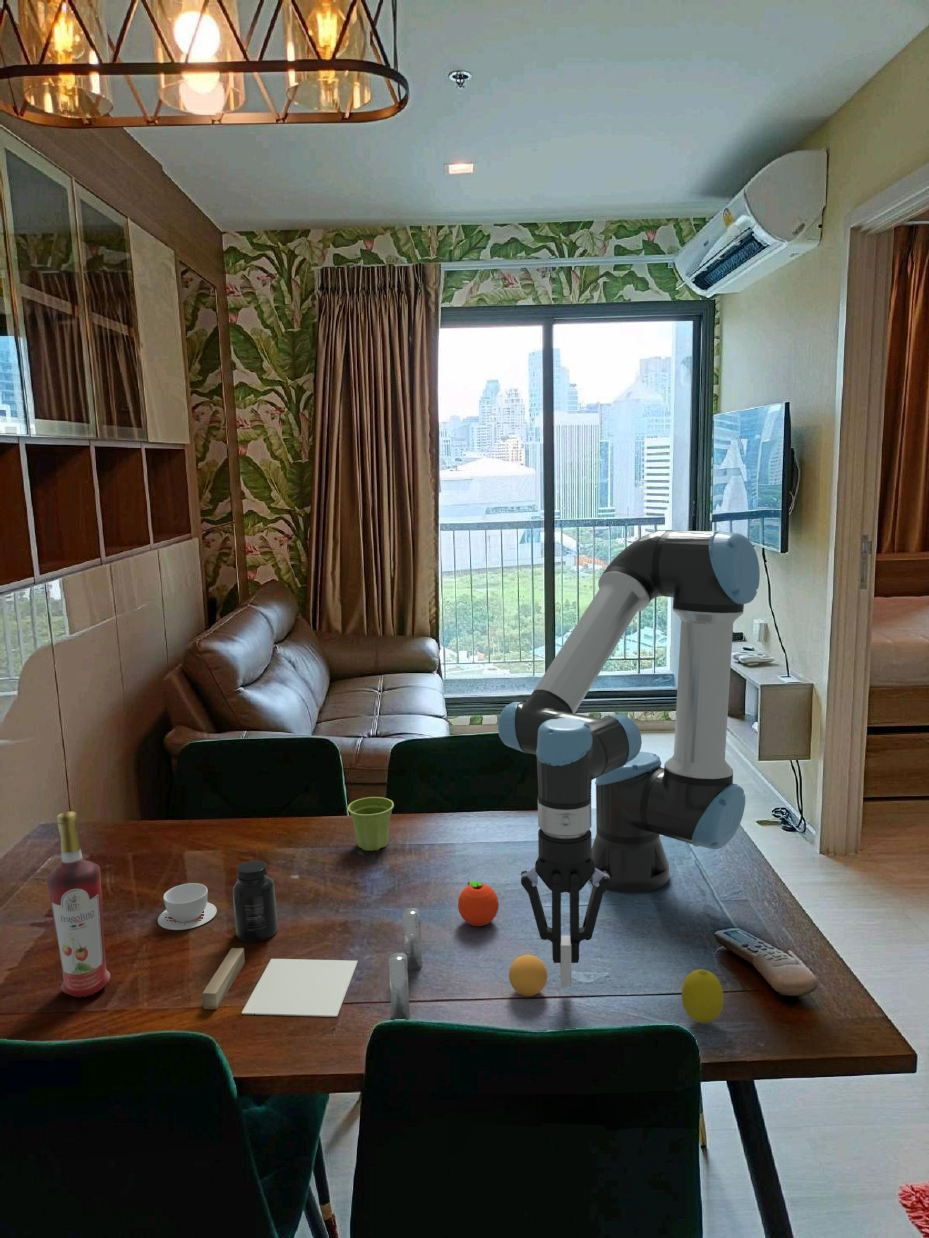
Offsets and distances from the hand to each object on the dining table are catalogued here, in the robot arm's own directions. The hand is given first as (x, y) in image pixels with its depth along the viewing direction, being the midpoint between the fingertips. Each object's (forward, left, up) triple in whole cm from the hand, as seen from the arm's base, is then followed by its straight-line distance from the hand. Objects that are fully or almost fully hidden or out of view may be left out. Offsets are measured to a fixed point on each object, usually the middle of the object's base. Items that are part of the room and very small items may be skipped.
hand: (565, 981), depth 127 cm
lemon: (-19, +6, -2) cm, 19 cm away
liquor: (+72, +2, -2) cm, 73 cm away
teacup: (+66, -20, -3) cm, 69 cm away
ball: (+5, 0, +1) cm, 6 cm away
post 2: (+23, -7, -2) cm, 25 cm away
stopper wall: (+51, 0, -2) cm, 52 cm away
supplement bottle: (+51, -15, -2) cm, 54 cm away
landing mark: (+39, 0, -2) cm, 40 cm away
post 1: (+23, +6, -2) cm, 24 cm away
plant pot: (+38, -50, -2) cm, 63 cm away
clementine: (+14, -20, -2) cm, 25 cm away
